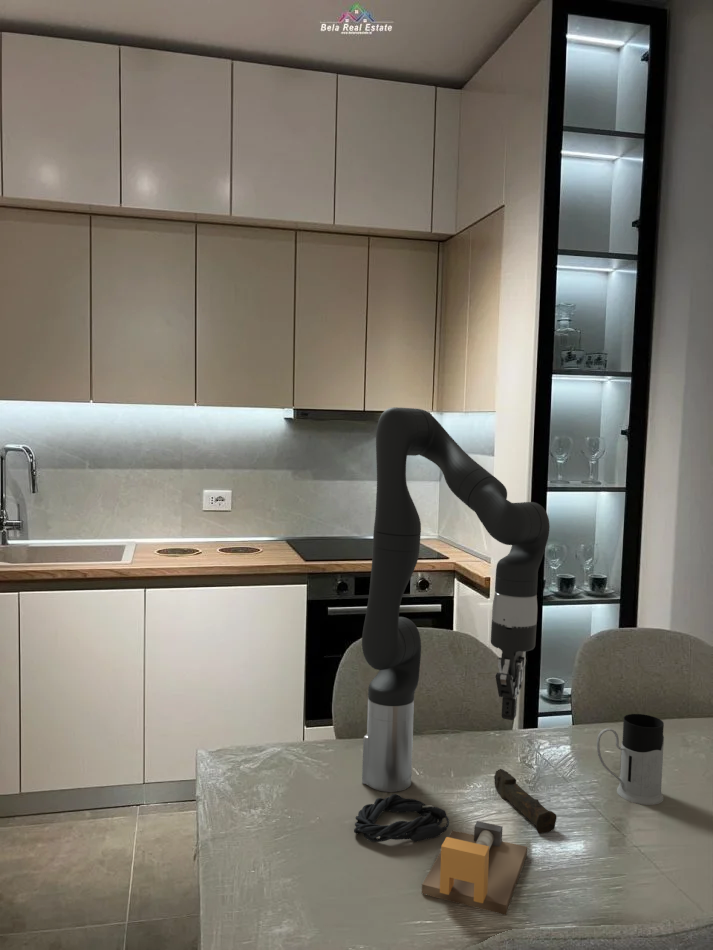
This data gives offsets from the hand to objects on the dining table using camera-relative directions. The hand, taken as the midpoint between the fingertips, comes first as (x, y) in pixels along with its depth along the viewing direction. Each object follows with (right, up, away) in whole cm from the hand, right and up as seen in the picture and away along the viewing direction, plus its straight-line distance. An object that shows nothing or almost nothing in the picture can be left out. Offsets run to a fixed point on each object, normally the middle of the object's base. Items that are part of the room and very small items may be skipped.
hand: (508, 718), depth 136 cm
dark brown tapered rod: (+4, -22, +14) cm, 26 cm away
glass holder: (+28, -22, +21) cm, 41 cm away
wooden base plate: (-7, -23, -8) cm, 25 cm away
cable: (-19, -22, +6) cm, 30 cm away
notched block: (-10, -21, -17) cm, 29 cm away
